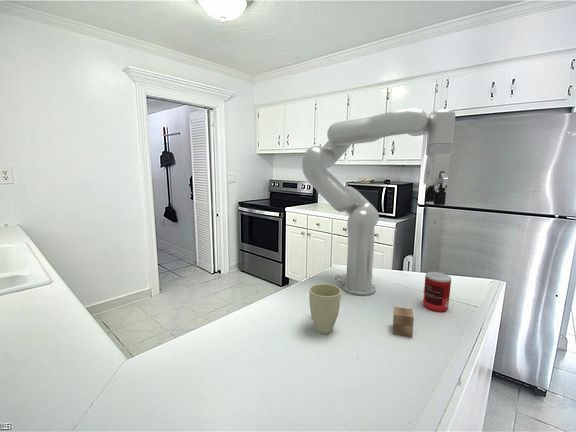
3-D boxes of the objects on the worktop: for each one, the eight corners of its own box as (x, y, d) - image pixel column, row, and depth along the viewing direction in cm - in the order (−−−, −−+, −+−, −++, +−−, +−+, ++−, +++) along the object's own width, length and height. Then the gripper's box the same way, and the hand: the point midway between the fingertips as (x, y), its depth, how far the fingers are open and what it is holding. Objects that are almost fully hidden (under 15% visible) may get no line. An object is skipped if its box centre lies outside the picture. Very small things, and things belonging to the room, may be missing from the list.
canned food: (442, 302, 102) (445, 272, 100) (452, 313, 94) (456, 280, 92) (419, 300, 102) (422, 271, 101) (427, 311, 95) (430, 279, 93)
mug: (347, 327, 85) (349, 288, 83) (327, 342, 78) (328, 299, 76) (317, 314, 92) (318, 278, 90) (296, 326, 85) (297, 287, 83)
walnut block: (392, 334, 82) (394, 314, 81) (392, 325, 86) (394, 306, 85) (412, 337, 80) (413, 317, 79) (411, 328, 85) (412, 309, 84)
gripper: (419, 152, 103) (415, 200, 106) (434, 148, 86) (430, 206, 89) (442, 152, 102) (437, 200, 105) (462, 148, 85) (456, 206, 88)
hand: (434, 203), depth 97 cm, fingers open, 9 cm apart
